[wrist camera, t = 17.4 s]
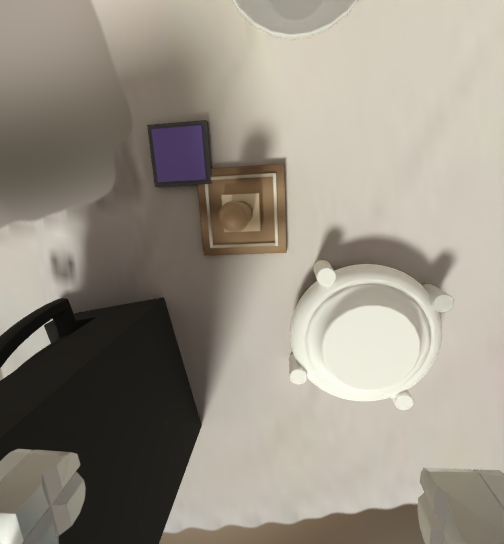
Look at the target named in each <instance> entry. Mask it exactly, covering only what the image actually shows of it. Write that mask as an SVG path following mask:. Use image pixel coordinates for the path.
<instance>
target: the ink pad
mask: <svg viewBox="0 0 504 544" xmlns="http://www.w3.org/2000/svg"><path fill="white" fill-rule="evenodd" d="M147 126H148V134H149V142H150V150H151V158H152V166H153V174H154V183H155V187H170V186H187V185H201V184H212V182H211V169H212V165H211V153H210V140H209V128H208V122H207V121H206V120H204V121H192V122H179V123H167V124H155V125H147Z"/></svg>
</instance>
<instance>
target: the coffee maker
mask: <svg viewBox="0 0 504 544" xmlns="http://www.w3.org/2000/svg"><path fill="white" fill-rule="evenodd" d="M52 318H53V321H51V322H49V323H47V324H45V323H46V322H48V321H49V320H51V319H52ZM44 324H45V325H44ZM42 325H44V327H45V329H46V332H47V335H48V337H49V340H50V342H51V344H50V345H48V346H47V347H45V348H43V349H42V350H41V351H39V352H38V353H36V354H35V355H33V356H32V357H31V358H30V359H28V360H27V361H26V362H25V363H23V364H22V365H21V366H20V367H19V368H18V369H16V370H15V371H14V372H13V373H11V374H10V375H8V376H7V377H5V378H4V379H2V380H1V381H0V461H1V460H2V459H3V458H4V457H5V456H6V455H7V454H9V453H10V452H12V451H14V450H17V449H29V450H48V451H61V452H72V453H76V454H78V458H79V461H80V467H79V468H78V470H77V473H78V474H79V475H80V476H81V477H82V478H83V479H84V483H85V488H86V489H85V499H84V502H83V505H82V508H81V511H80V514H79V515H78V517H77V518H76V520H75V522H74V523H73V525H72V526H71V527H70V528H68V529H67V530H66V531H65V532H63V533H62V534H61V535H59V544H159V541H160V539H161V536H162V533H163V531H164V528H165V525H166V522H167V520H168V517H169V514H170V511H171V509H172V506H173V503H174V500H175V498H176V495H177V492H178V489H179V487H180V484H181V481H182V478H183V476H184V473H185V470H186V467H187V465H188V462H189V459H190V456H191V453H192V451H193V448H194V445H195V442H196V440H197V437H198V434H199V431H200V429H201V422H200V419H199V416H198V412H197V409H196V405H195V402H194V399H193V395H192V392H191V388H190V385H189V382H188V378H187V375H186V371H185V368H184V365H183V361H182V358H181V354H180V351H179V348H178V344H177V341H176V337H175V334H174V331H173V327H172V324H171V320H170V317H169V314H168V310H167V307H166V303H165V300H164V298H158V299H152V300H147V301H141V302H136V303H130V304H124V305H119V306H113V307H108V308H102V309H97V310H91V311H86V312H80V313H75V314H73V312H72V309H71V306H70V304H69V301H68V299H65V298H61V299H57V300H55V301H53V302H51V303H48V304H46V305H44V306H43V307H41V308H39V309H37V310H36V311H34V312H32V313H31V314H29V315H27V316H26V317H24V318H23V319H22V320H20V321H19V322H17V323H16V324H15V325H13V326H12V327H11V328H9V329H8V330H7V331H6V332H5V333H3V334H2V335H1V336H0V368H1V367H2V365H3V364H4V363H5V361H6V360H7V359H8V358H9V356H10V355H11V354H12V353H13V352H14V351H15V350H16V349H17V347H18V346H19V345H20V344H21V343H22V342H24V341H25V340H26V339H27V338H28V337H29V336H30V335H31V334H32V333H34V332H35V331H36V330H37V329H39V328H40V327H41V326H42Z"/></svg>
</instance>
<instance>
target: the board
mask: <svg viewBox="0 0 504 544" xmlns="http://www.w3.org/2000/svg"><path fill="white" fill-rule="evenodd" d="M211 182H212V184H201V185H198V195H199V206H200V217H201V228H202V239H203V250H204V255H232V254H264V253H286V220H285V181H284V164H276V165H261V166H245V167H229V168H213V169H211ZM253 193H260V217H261V231H247V232H224V228H223V227H222V225H221V224H220V221H219V211H220V209H221V207H222V196H221V195H233V194H253Z"/></svg>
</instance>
